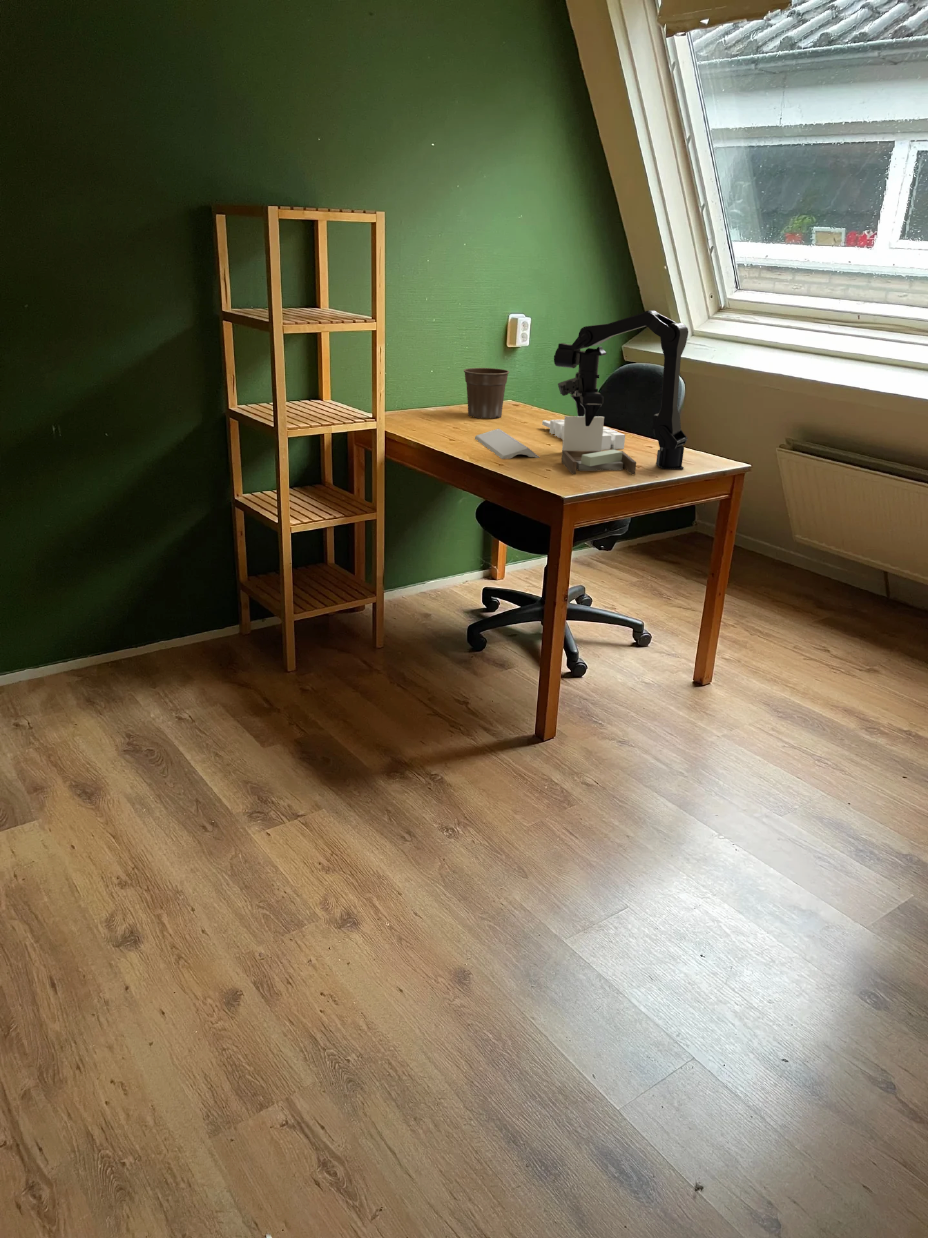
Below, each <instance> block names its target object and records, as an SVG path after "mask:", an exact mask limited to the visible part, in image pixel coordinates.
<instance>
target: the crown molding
mask: <svg viewBox="0 0 928 1238" xmlns="http://www.w3.org/2000/svg"><path fill="white" fill-rule="evenodd" d="M474 438H475V439H474V440H476V441H477V440H478V443H479V444H481V443H482V444H481V445H483V446H484V447H485V448H486V447H487V450H489V449H490V450H489V451H490V452H492V453H493V452H494V453H495V454H494V453H493V454H494V455H496V456H497V457H498V456H499V458H500V459H501V460H507V459H512V458H514V457H516V456H517V455H524V456H527V457H529V458H535V459H538V458H539V459H540V458H541V456H539V455H538V454H536V453H535V452H534V451H533V450H532V449H530V448H529V447H528V446H526V445H525V444H523V443H521V442H520V441H519V440H517V439H515V438H514V437H513V436H511V435H510V434H508V433H506V432H505V431H503V430H502V429H500V428H496V429H492V430H489V431H487V432H484V433H480V434H477V435H475V437H474Z"/></svg>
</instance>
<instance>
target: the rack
mask: <svg viewBox="0 0 928 1238" xmlns="http://www.w3.org/2000/svg"><path fill="white" fill-rule="evenodd" d="M601 451H602V450H601ZM601 451H567V450H562V449H561V464H562V465H563V466H564V467H565V468H566V469H567V470H568V471H569V473H570V474H572V475H576V474H577V469H576V464H577V462H576V461H581V459H582V455H584V454H590V453H595V452H601ZM620 451H621V452H622V461H621V462H622V463H623V469H624V470H626V471H627V472H628V473H629V474H630V475H632V474H635V475H636V471H637V469H636V468H637V461H636V460H634V459H633V458H632V457H631V456H630V455H628V454H627V453H626V452H625V451H624V450H620Z"/></svg>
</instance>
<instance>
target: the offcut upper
mask: <svg viewBox="0 0 928 1238" xmlns="http://www.w3.org/2000/svg"><path fill="white" fill-rule="evenodd" d="M621 451H622V450H618V449H610V450H601V452H595V453H590V454H584V455H582V459H581V464H584V465H587V466H594V465H600V464H605V463H611V462H616V461H622V452H621Z"/></svg>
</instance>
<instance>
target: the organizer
mask: <svg viewBox="0 0 928 1238" xmlns="http://www.w3.org/2000/svg"><path fill="white" fill-rule="evenodd" d="M541 423H542V426H545V427H546V428H548V429H549V434H550V433H551V434H550V435H552V434H555V435H554V437H556V436H557V437H556V438H558V439H561V440H562V441H563V432H564V419H550V420H545V419H544V420H542V422H541ZM625 441H626V434H624V433H622V432H618V431H617V430H614V429H611V428H610V427H607V426H603V436H602V447H601V451H607V450H613V449H614V450H625V449H624V448H625Z"/></svg>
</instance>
